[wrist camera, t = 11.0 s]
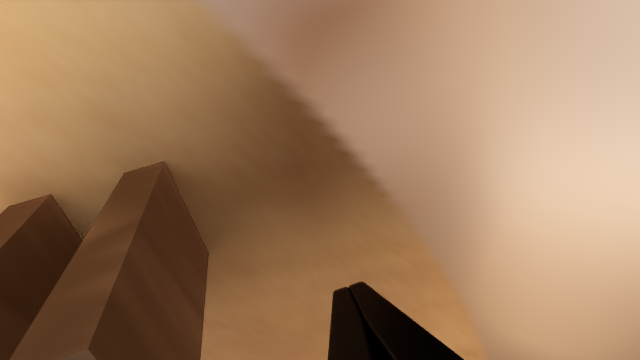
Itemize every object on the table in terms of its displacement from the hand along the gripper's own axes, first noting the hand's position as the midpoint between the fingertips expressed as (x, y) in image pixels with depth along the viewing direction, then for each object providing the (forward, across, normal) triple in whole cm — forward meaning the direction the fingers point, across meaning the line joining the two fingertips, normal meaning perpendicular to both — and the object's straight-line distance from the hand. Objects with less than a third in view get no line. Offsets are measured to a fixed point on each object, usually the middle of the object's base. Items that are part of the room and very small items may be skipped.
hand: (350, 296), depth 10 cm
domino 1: (+8, +6, 0) cm, 10 cm away
